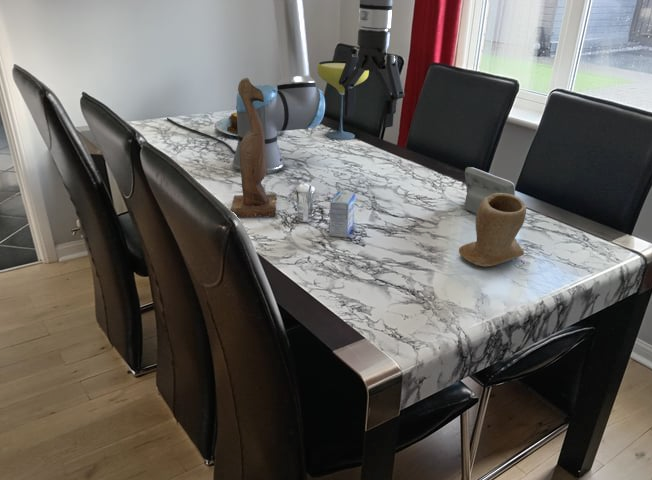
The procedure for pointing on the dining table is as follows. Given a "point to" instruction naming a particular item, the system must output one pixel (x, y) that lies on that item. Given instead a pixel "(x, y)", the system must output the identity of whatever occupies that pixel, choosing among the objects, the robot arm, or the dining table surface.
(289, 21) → the robot arm
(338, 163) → the dining table surface
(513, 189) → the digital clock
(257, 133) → the bird sculpture
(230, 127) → the food on plate
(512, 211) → the stone cup
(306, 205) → the milkshake
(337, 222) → the medicine box
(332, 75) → the cocktail glass
